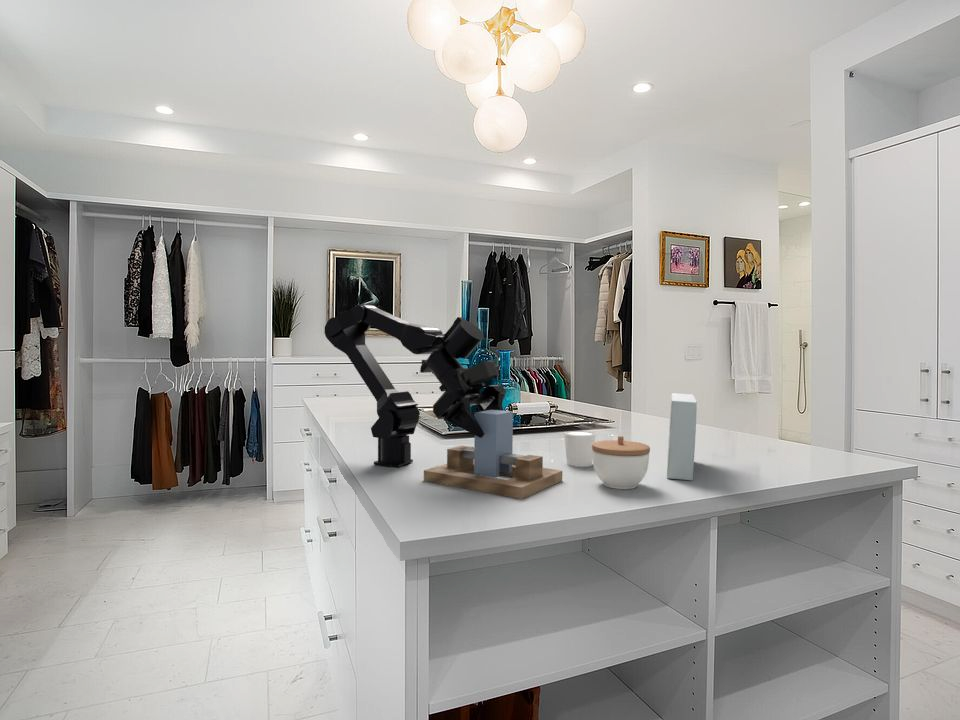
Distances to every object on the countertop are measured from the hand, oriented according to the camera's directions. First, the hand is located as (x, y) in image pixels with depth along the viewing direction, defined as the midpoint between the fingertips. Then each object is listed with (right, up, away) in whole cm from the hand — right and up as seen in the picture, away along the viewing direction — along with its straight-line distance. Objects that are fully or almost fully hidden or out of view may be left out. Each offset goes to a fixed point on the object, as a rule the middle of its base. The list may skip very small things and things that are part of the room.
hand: (495, 433), depth 110 cm
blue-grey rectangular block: (0, -8, 0) cm, 8 cm away
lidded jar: (+24, -10, -2) cm, 26 cm away
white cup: (+19, -9, +17) cm, 27 cm away
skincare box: (+40, -10, +12) cm, 43 cm away
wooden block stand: (0, -9, +1) cm, 9 cm away
